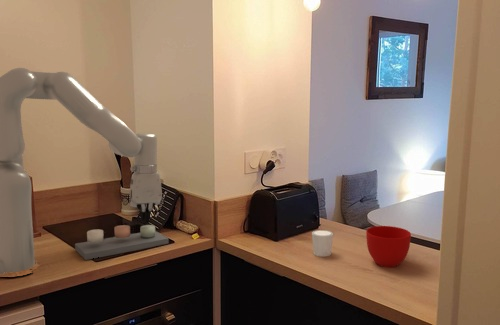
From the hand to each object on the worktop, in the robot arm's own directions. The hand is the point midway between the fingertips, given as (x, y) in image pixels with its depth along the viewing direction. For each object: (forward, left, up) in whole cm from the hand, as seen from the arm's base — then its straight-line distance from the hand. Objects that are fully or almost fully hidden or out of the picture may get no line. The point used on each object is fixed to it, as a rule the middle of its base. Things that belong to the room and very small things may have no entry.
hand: (145, 221), depth 158 cm
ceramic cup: (+55, -60, -8) cm, 82 cm away
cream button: (-17, 0, -3) cm, 18 cm away
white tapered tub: (+43, -43, -8) cm, 61 cm away
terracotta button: (-8, 0, -4) cm, 9 cm away
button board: (-8, 0, -7) cm, 11 cm away
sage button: (+1, 0, -5) cm, 5 cm away
